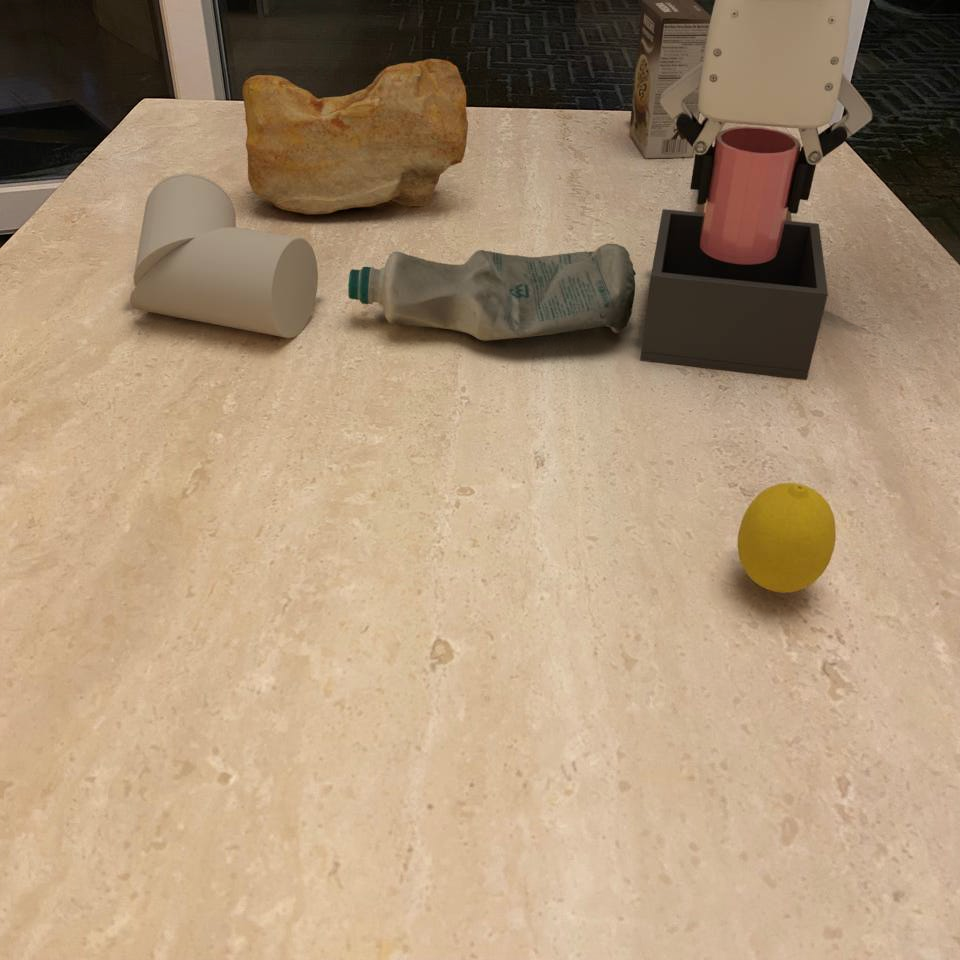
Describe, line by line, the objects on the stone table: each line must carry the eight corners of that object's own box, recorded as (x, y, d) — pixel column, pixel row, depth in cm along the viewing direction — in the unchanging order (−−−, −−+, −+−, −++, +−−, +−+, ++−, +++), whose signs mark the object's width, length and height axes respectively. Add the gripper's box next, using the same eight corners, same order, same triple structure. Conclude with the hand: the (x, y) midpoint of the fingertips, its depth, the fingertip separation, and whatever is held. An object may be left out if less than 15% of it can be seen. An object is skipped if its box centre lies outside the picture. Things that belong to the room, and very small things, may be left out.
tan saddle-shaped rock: (468, 173, 119) (464, 38, 111) (471, 218, 105) (466, 67, 97) (273, 179, 119) (255, 44, 111) (249, 225, 105) (226, 74, 97)
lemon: (721, 605, 61) (743, 503, 56) (736, 549, 65) (758, 450, 60) (813, 629, 60) (845, 527, 55) (823, 570, 64) (853, 470, 59)
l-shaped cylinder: (56, 314, 86) (263, 354, 81) (43, 189, 82) (261, 223, 77) (175, 271, 102) (354, 303, 97) (169, 164, 97) (357, 191, 92)
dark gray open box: (652, 287, 94) (662, 208, 90) (800, 303, 92) (818, 223, 88) (640, 360, 84) (650, 275, 79) (806, 379, 82) (828, 293, 77)
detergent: (626, 288, 94) (360, 277, 94) (636, 219, 89) (356, 207, 89) (638, 372, 84) (342, 359, 84) (650, 299, 79) (336, 286, 79)
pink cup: (734, 226, 87) (752, 121, 81) (793, 251, 83) (817, 143, 77) (683, 244, 84) (699, 136, 78) (742, 272, 80) (763, 160, 74)
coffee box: (626, 134, 128) (640, -3, 118) (675, 132, 129) (693, -3, 119) (643, 159, 121) (659, 16, 111) (695, 158, 122) (716, 15, 112)
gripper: (914, -46, 71) (853, 195, 82) (670, -60, 74) (642, 176, 85) (929, -25, 66) (861, 232, 77) (663, -40, 68) (635, 210, 79)
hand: (746, 200), depth 81 cm, fingers closed on pink cup, 6 cm apart
